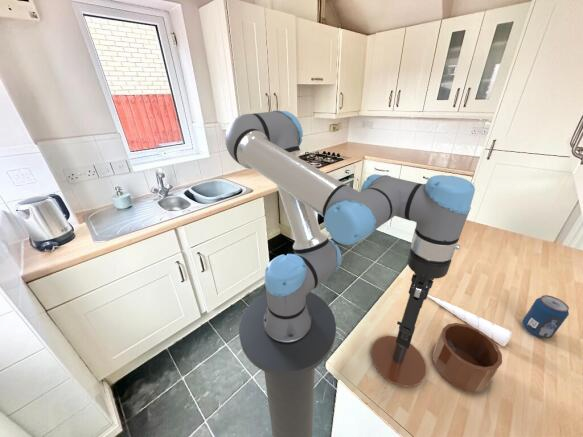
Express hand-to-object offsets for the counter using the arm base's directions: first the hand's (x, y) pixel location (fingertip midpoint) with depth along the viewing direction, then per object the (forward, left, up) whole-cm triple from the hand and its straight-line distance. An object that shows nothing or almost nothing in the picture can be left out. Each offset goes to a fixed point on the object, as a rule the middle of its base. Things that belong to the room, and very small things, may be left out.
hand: (409, 323), depth 59 cm
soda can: (+32, +34, -16) cm, 50 cm away
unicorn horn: (+14, +26, -16) cm, 34 cm away
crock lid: (0, 0, -16) cm, 16 cm away
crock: (+14, +8, -16) cm, 23 cm away
